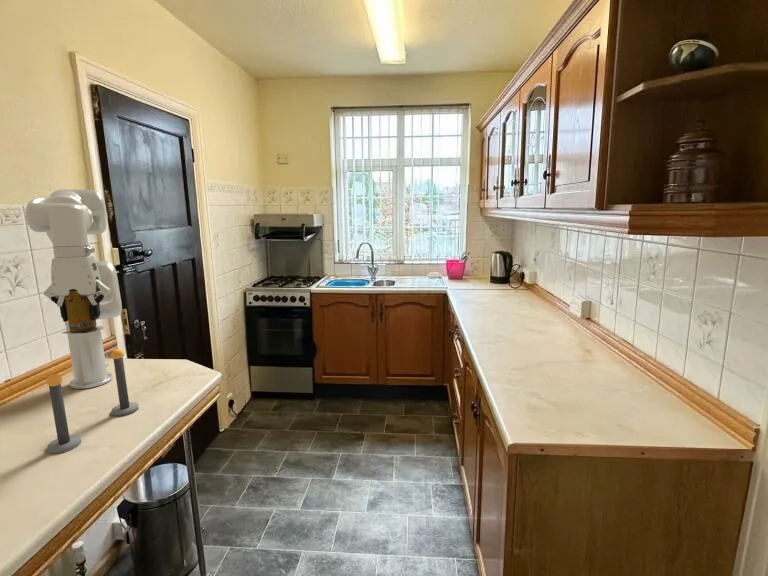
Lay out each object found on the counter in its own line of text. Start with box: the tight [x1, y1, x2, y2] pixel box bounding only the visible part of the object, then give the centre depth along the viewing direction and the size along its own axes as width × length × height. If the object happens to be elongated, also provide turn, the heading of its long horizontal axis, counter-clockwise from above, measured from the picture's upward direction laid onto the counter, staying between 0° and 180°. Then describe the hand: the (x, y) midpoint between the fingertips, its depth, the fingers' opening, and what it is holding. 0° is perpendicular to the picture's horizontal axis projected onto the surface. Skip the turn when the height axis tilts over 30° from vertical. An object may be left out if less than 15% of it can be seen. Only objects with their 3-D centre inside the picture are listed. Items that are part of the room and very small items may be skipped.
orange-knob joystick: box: [45, 373, 82, 454], centre depth 109 cm, size 7×7×20 cm
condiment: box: [62, 289, 110, 335], centre depth 114 cm, size 7×8×12 cm
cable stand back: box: [110, 348, 139, 417], centre depth 128 cm, size 7×7×20 cm
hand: (81, 318), depth 114 cm, fingers closed on condiment, 6 cm apart
